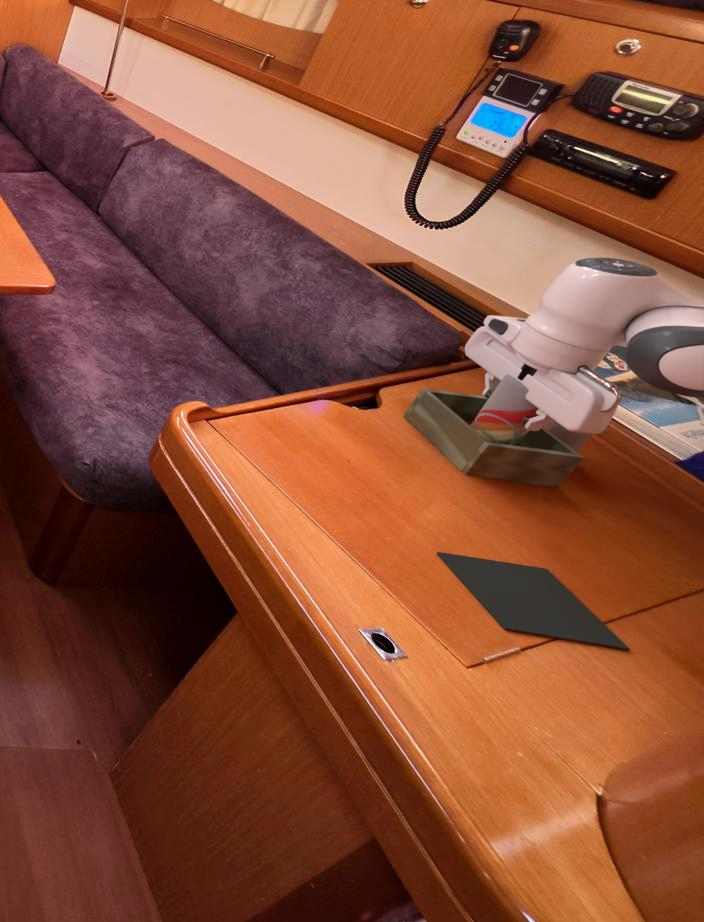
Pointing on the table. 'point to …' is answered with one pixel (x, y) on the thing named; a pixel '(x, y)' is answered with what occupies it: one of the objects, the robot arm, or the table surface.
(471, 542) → the table surface
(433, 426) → the basket
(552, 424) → the planter
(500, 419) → the striped water bottle
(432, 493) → the table surface
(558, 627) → the mat
